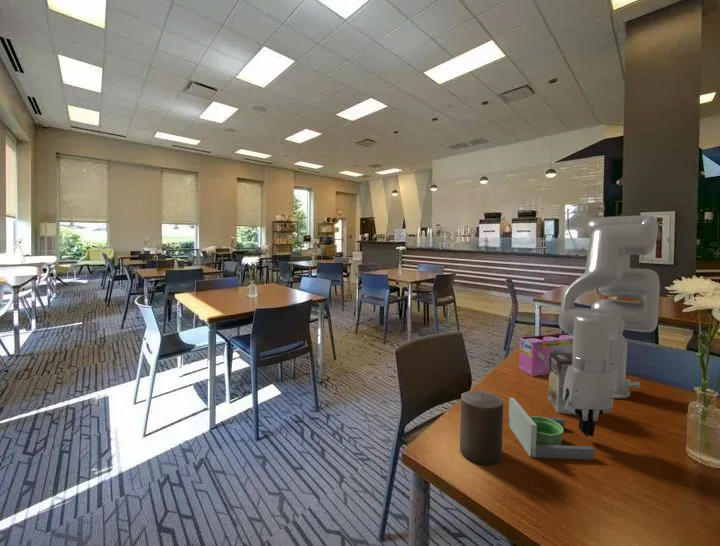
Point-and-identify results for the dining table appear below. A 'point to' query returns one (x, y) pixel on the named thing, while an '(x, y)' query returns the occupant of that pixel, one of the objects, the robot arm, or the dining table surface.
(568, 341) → the gum box
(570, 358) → the coffee box
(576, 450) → the display stand
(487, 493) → the dining table surface
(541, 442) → the ramekin
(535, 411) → the dining table surface
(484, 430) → the pillar candle
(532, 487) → the dining table surface
